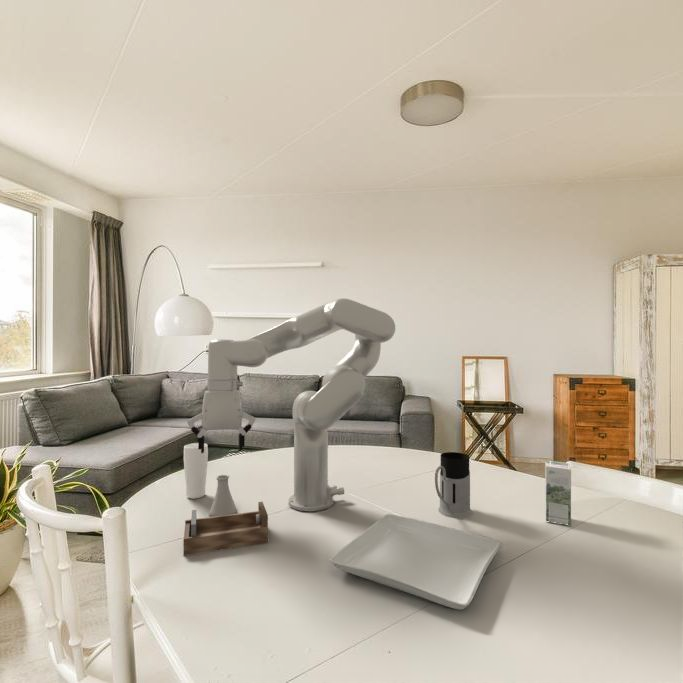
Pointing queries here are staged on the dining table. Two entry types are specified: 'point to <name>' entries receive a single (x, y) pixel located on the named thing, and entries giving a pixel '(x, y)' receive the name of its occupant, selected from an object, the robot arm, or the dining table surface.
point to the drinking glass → (195, 470)
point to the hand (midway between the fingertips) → (221, 450)
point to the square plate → (420, 559)
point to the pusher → (193, 523)
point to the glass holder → (454, 485)
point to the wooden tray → (227, 532)
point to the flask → (222, 499)
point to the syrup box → (558, 492)
